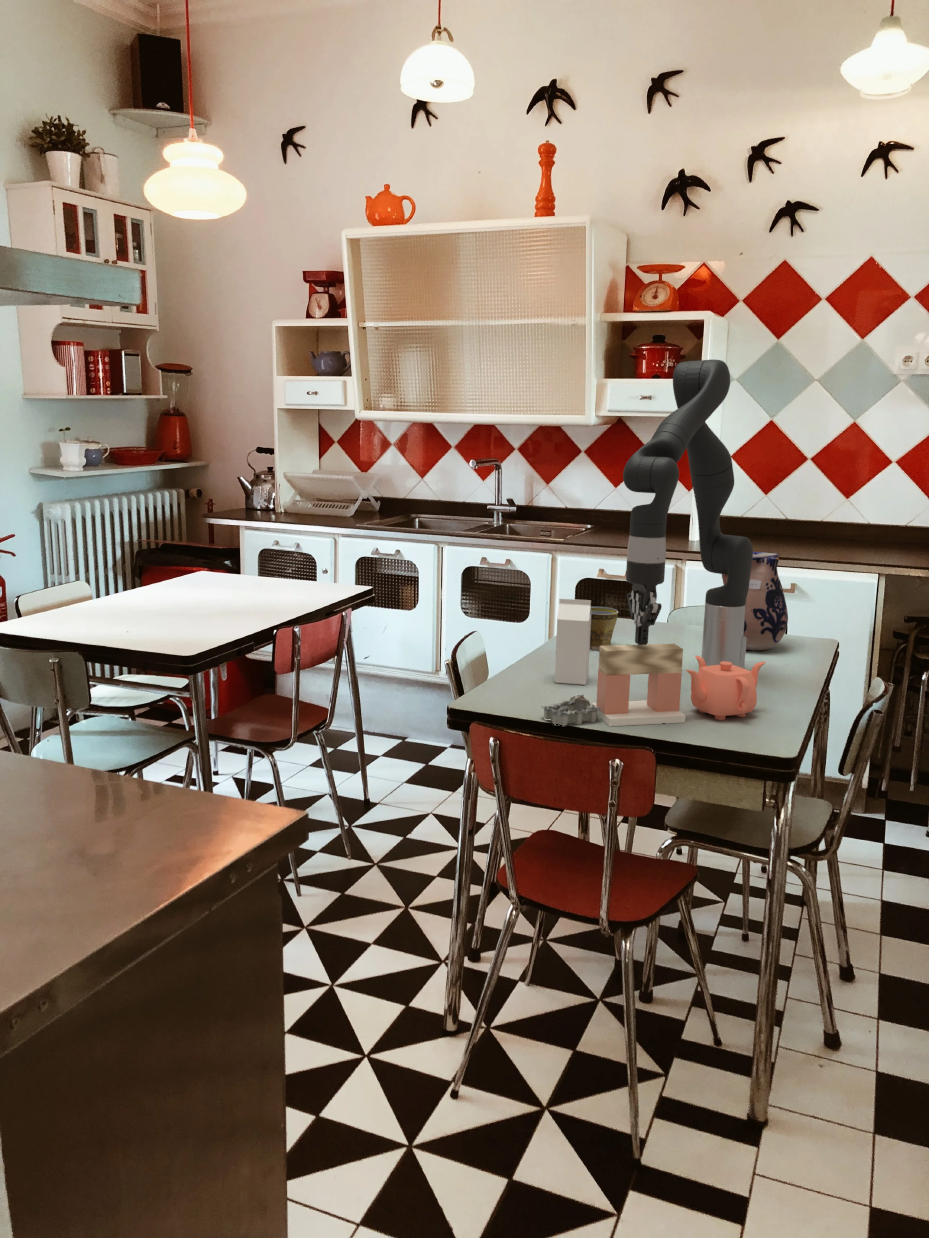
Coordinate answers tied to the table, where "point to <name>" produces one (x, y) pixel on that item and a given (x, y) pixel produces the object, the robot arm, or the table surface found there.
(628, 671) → the oak beam
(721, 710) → the teapot
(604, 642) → the ceramic cup
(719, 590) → the robot arm
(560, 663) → the milk carton
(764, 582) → the ceramic pitcher
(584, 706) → the egg carton
